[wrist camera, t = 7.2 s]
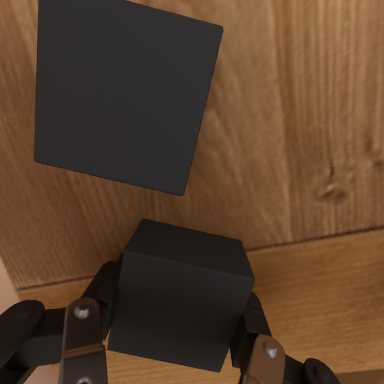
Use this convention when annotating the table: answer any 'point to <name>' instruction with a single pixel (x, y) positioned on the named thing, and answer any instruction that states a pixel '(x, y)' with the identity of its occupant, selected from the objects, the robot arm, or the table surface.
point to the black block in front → (180, 296)
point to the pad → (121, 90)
